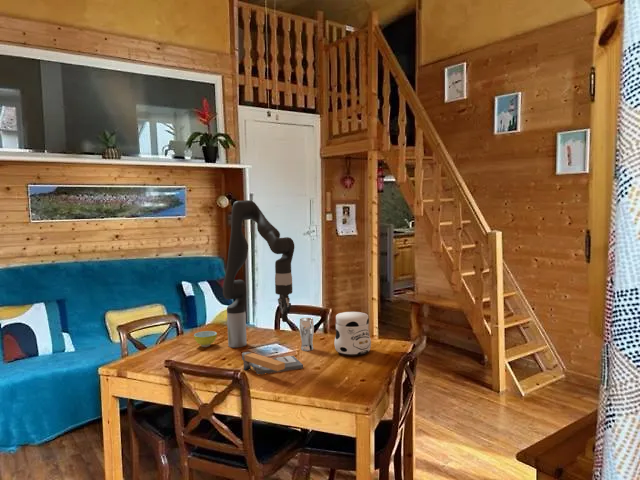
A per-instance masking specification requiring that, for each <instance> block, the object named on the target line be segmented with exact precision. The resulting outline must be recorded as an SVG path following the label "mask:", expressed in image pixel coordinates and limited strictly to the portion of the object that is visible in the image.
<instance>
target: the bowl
mask: <svg viewBox="0 0 640 480" xmlns="http://www.w3.org/2000/svg"><path fill="white" fill-rule="evenodd" d="M217 336H218V332H216V331H213V330H204V331H203V330H202V331H198V332H195V333H194V335H193V338H194V341H195V342H196V343H197V344H199V345H200V346H201V347H202V348H207V347H210V346H211V345H212V344H213V343H214V342H215V341H216V339H217V338H218V337H217Z"/></svg>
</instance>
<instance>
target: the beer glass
mask: <svg viewBox="0 0 640 480" xmlns="http://www.w3.org/2000/svg"><path fill="white" fill-rule="evenodd" d="M314 331H315V326H314V318H313V317H301V318H299V335H300V339H301V347H300V350H301V352H302V351H303V352H311V351H313V350H314V344H313V341H314Z"/></svg>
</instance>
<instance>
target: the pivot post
mask: <svg viewBox="0 0 640 480" xmlns="http://www.w3.org/2000/svg"><path fill="white" fill-rule="evenodd" d="M249 369H250V370H251V369H252V366H251V363H250V362H247V361H245V360H243V370H244V371H250V370H249Z"/></svg>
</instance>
